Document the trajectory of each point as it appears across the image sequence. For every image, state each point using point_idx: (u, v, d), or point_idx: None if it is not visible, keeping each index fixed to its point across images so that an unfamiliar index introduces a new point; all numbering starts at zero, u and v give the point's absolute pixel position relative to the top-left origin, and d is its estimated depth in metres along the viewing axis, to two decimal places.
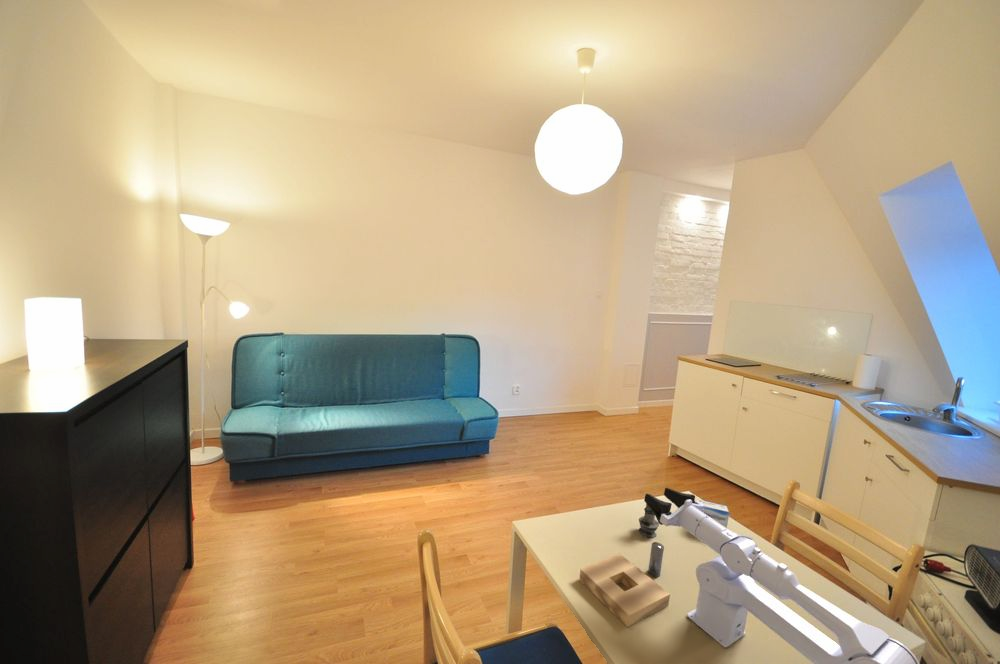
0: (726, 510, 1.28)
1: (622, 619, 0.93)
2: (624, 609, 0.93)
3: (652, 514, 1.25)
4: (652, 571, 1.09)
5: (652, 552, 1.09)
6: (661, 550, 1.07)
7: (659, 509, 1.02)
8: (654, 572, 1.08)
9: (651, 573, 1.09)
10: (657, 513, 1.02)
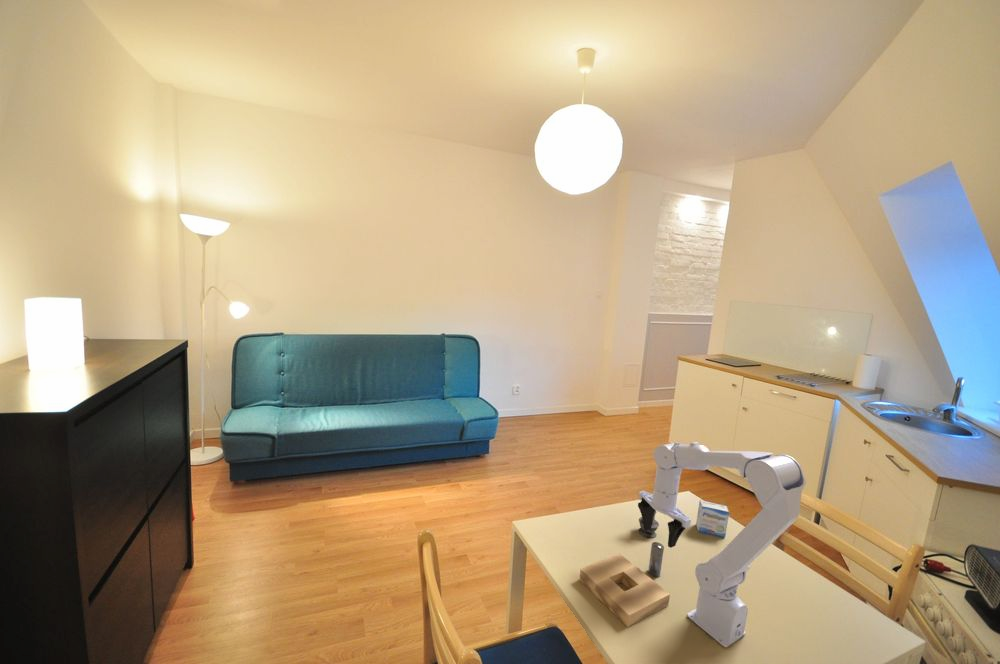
0: (726, 510, 1.28)
1: (622, 619, 0.93)
2: (624, 609, 0.93)
3: None
4: (652, 571, 1.09)
5: (652, 552, 1.09)
6: (661, 550, 1.07)
7: None
8: (654, 572, 1.08)
9: (651, 573, 1.09)
10: None
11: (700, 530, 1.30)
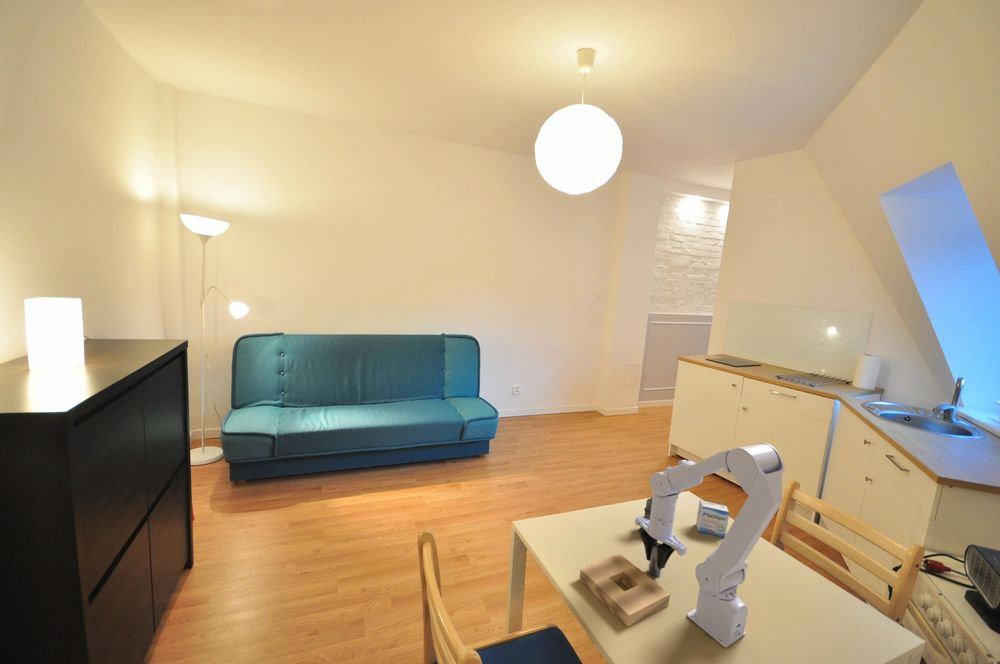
0: (726, 510, 1.28)
1: (622, 619, 0.93)
2: (624, 609, 0.93)
3: None
4: (652, 571, 1.09)
5: (652, 552, 1.09)
6: None
7: None
8: (654, 572, 1.08)
9: (651, 573, 1.09)
10: None
11: (700, 530, 1.30)
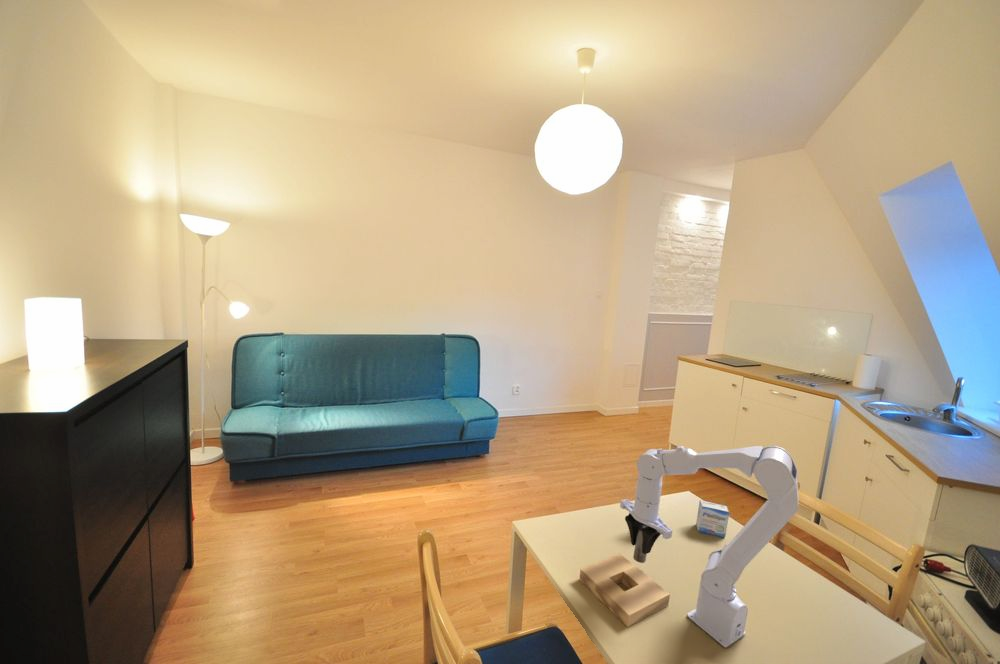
0: (726, 510, 1.28)
1: (622, 619, 0.93)
2: (624, 609, 0.93)
3: None
4: (637, 556, 1.03)
5: (637, 536, 1.03)
6: None
7: None
8: (639, 557, 1.03)
9: (636, 558, 1.04)
10: None
11: (700, 530, 1.30)
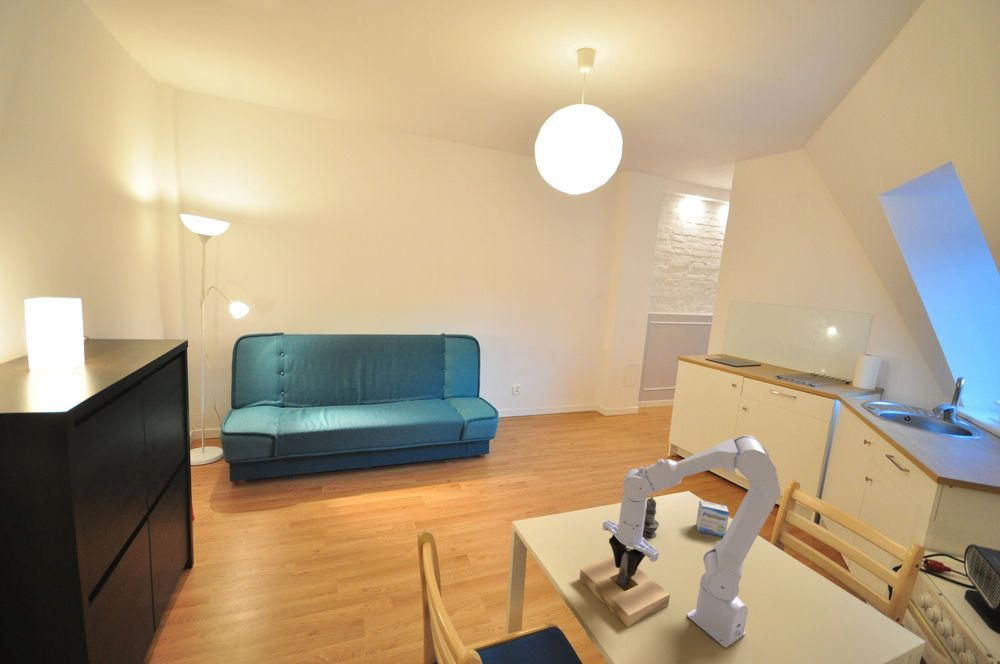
0: (726, 510, 1.28)
1: (622, 619, 0.93)
2: (624, 609, 0.93)
3: (652, 514, 1.25)
4: (622, 579, 1.01)
5: (622, 559, 1.01)
6: None
7: None
8: (625, 580, 1.01)
9: (621, 581, 1.01)
10: None
11: (700, 530, 1.30)
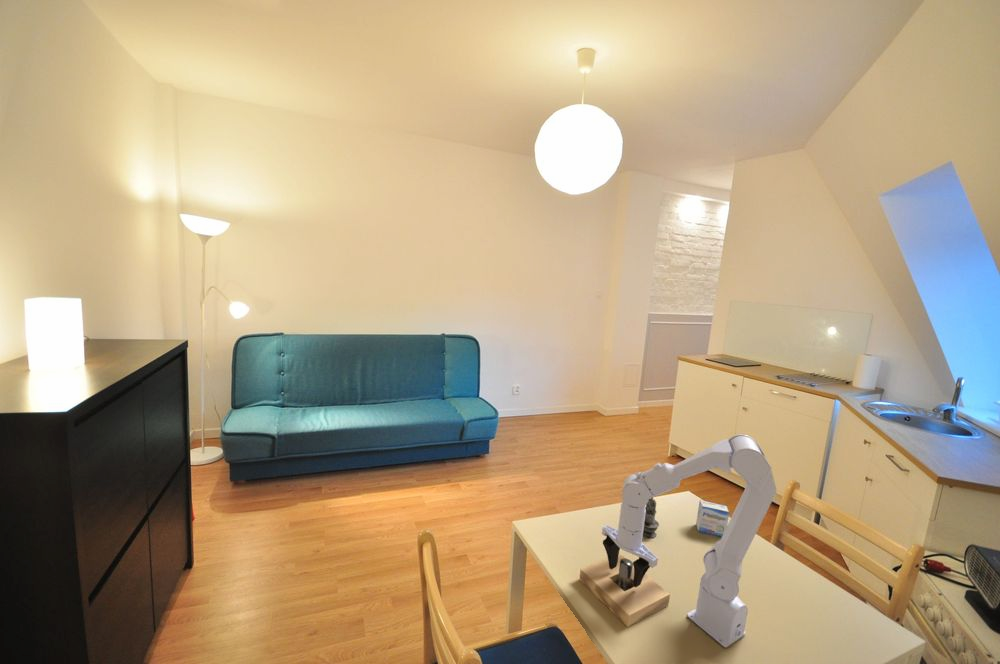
0: (726, 510, 1.28)
1: (622, 619, 0.93)
2: (624, 609, 0.93)
3: (652, 514, 1.25)
4: None
5: (621, 570, 1.01)
6: (630, 567, 1.00)
7: None
8: None
9: None
10: None
11: (700, 530, 1.30)
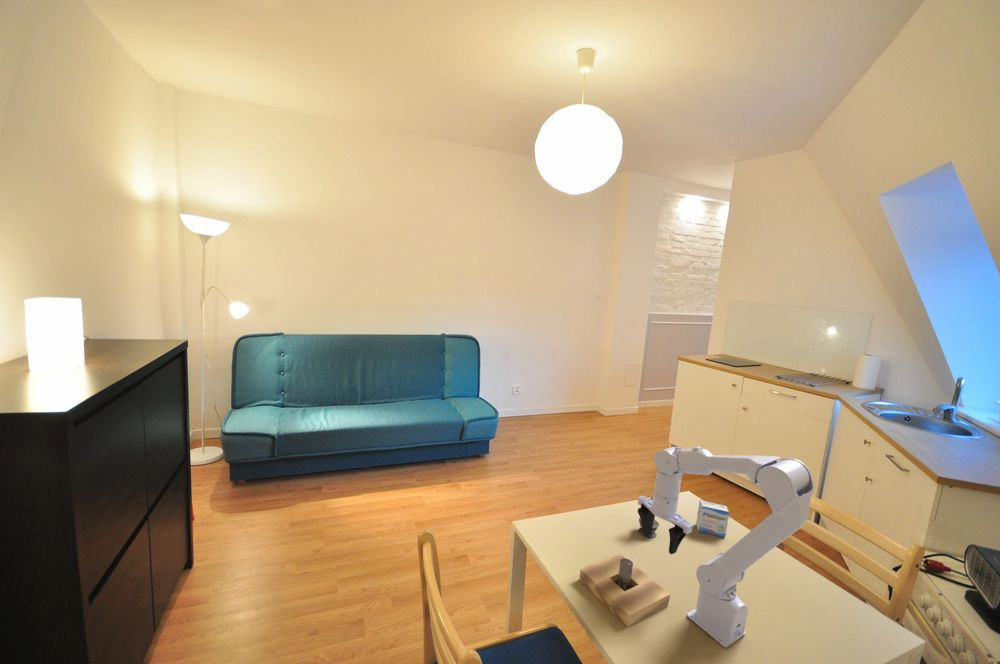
0: (726, 510, 1.28)
1: (622, 619, 0.93)
2: (624, 609, 0.93)
3: None
4: None
5: (621, 570, 1.01)
6: (630, 567, 1.00)
7: None
8: None
9: None
10: None
11: (700, 530, 1.30)
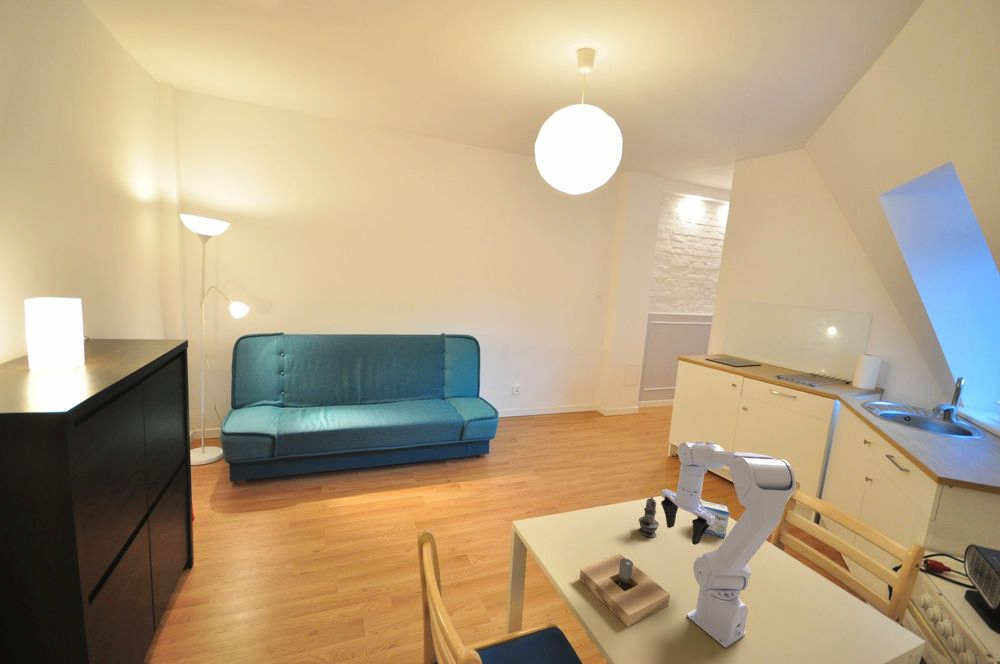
0: (726, 510, 1.28)
1: (622, 619, 0.93)
2: (624, 609, 0.93)
3: (652, 514, 1.25)
4: None
5: (621, 570, 1.01)
6: (630, 567, 1.00)
7: None
8: None
9: None
10: None
11: None
